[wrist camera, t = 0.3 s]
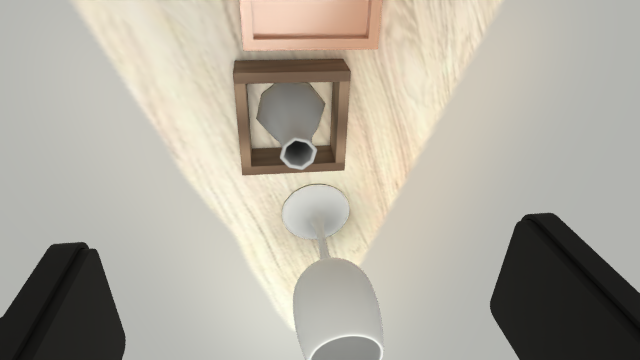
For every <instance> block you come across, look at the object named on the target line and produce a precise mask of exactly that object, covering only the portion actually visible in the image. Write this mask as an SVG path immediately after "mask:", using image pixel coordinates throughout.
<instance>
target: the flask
mask: <svg viewBox="0 0 640 360" xmlns="http://www.w3.org/2000/svg"><path fill="white" fill-rule="evenodd" d="M324 107H325V103H324V101H323V100H322V99H321V98H320V96H319V95H318V94H317V93H316V91H315V90H314V89H313V88H312V86H311V85H310V84H308V83H304V82H301V83H275V84H274V85H273V86H272V87H270V88H269V89H268V90H267V91H265V92H264V93H263V94H262V96H261V100H260V104H259V109H258V113H257V118H256V119H257V120H258V121H259V122H260V123H261V125H262V126H263V127H264V128H265V129H266V130H267V131H268V132H269V133H270V134H271V135H272V136H273V137H274V138H275V139H276V140H278V141H279V142H280V144H281V146H282V150H281V154H280V159H281V160H282V161H283V162H284V163H285V164H286V165H287V166H288V167H289V168H294V169H299V170H303V169H305V168H306V167H307V166H309V165H310V164H312V163H313V162H314V159H315V156H316V152H317V148H316V147H315V146H314V145H313V144H312V136H313V135H314V133H315V132H316V130H317V128H318V126H319V123H320V119H321V116H322V113H323V110H324Z"/></svg>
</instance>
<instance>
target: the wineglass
mask: <svg viewBox="0 0 640 360" xmlns="http://www.w3.org/2000/svg"><path fill="white" fill-rule="evenodd" d="M349 210H350V208H349V203H348V200H347V198H346V197H345V195H344V194H343V193H342V192H341V191H339V190H338V189H336V188H334V187H331V186H328V185H322V184H316V185H309V186H306V187H303V188H301V189H299V190H297V191H295V192H294V193H293V194H292V195H291V196H290V197H289V198H288V199H287V200H286V202H285V204H284V206H283V209H282V220H283V223H284V225H285V226H286V228H287V229H288V230H289V231H290V232H291V233H293V234H294V235H296V236H298V237H301V238H304V239H317V241H318V245H319V251H320V260H319V261H316V262H315V263H313V264H311V265H310V266H309V267H308V268H307V269H306V270H305V271H304V272H303V273H302V274H301V276H300V277H299V279H298V281H297V283H296V286H295V290H294V295H293V314H294V322H295V328H296V332H297V336H298V340H299V343H300V346H301V349H302V352H303V355H304V358H305V360H381V359H382V357H383V351H384V349H383V348H384V345H383V329H382V320H381V313H380V308H379V305H378V301H377V298H376V295H375V292H374V289H373V287H372V284H371V282H370V281H369V279H368V277H367V276H366V274H365V273H364V272H363V271H362V270H361V269H360V268H359V267H358V266H357V265H355V264H354V263H352V262H350V261H348V260H345V259H341V258H331V257H330V255H329V252H328V248H327V244H326V239H325V237H328V236H330V235H332V234H334V233H336V232H337V231H338V230H339V229H341V228H342V227H343V225H344V224H345V223H346V221H347V219H348V216H349Z"/></svg>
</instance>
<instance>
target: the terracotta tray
mask: <svg viewBox="0 0 640 360" xmlns="http://www.w3.org/2000/svg"><path fill="white" fill-rule="evenodd" d="M381 10H382V0H240V14H241V27H242V40H243V51H270V50H352V49H378V41H379V31H380V20H381Z"/></svg>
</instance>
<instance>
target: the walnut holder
mask: <svg viewBox="0 0 640 360" xmlns="http://www.w3.org/2000/svg"><path fill="white" fill-rule="evenodd" d="M350 74H351V71H350V69H349V68H348V66H347V64H346V63H345V61H344V60H343V59H318V60H252V61H235V63H234V70H233V79H234V90H235V100H236V111H237V122H238V133H239V144H240V155H241V166H242V175H260V174H280V173H301V172H321V171H341V170H344V168H345V153H346V137H347V121H348V106H349V90H350ZM301 82H333V87H332V111H331V136H330V146H315V147H316V148H317V152H316V156H315V159H314V162H313V163H312V164H310V165H309V166H307V167H306V168H305V169H303V170H299V169H294V168H289V167H288V166H287V165H286V164H285V163H284V162H283V161H282V160H281V159H280V154H281V150H282V148H262V149H252V147H251V134H250V121H249V107H248V94H247V84H255V83H301Z"/></svg>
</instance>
